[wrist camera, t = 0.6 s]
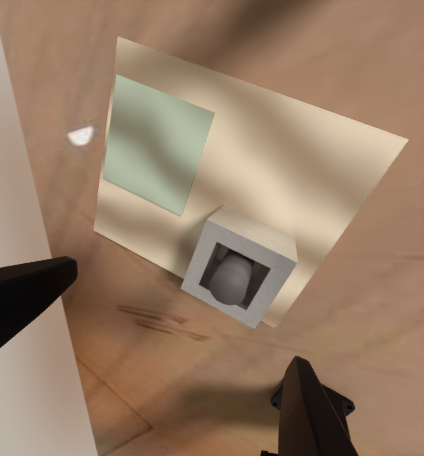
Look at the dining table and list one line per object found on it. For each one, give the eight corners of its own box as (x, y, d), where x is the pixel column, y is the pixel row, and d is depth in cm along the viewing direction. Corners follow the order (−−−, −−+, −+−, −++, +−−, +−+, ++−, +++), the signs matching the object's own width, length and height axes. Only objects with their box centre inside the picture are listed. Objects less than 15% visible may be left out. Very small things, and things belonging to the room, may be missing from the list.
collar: (260, 293, 20) (254, 329, 16) (200, 262, 21) (180, 288, 17) (295, 237, 17) (297, 262, 13) (224, 204, 18) (206, 219, 14)
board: (275, 317, 22) (271, 389, 15) (103, 226, 25) (38, 252, 19) (397, 140, 15) (493, 130, 8) (130, 45, 18) (37, -20, 11)
